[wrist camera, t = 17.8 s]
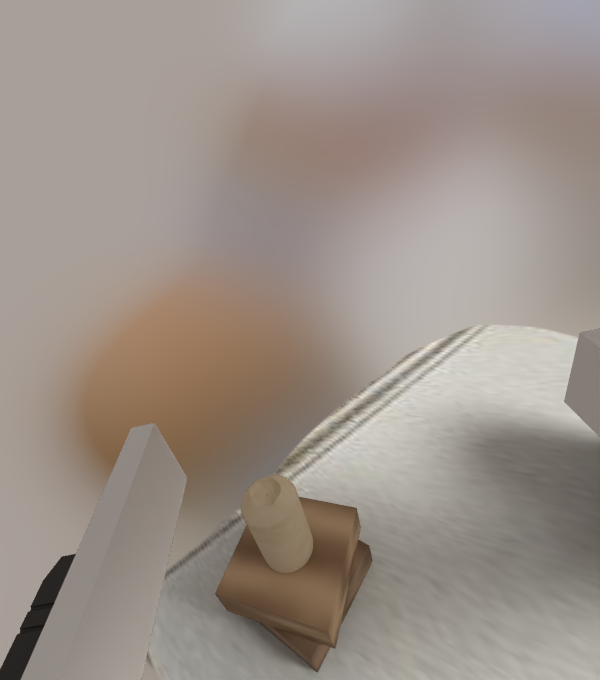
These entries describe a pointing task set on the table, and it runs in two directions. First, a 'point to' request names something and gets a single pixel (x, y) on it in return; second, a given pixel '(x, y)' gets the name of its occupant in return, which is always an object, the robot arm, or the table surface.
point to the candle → (278, 523)
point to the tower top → (297, 577)
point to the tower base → (316, 651)
